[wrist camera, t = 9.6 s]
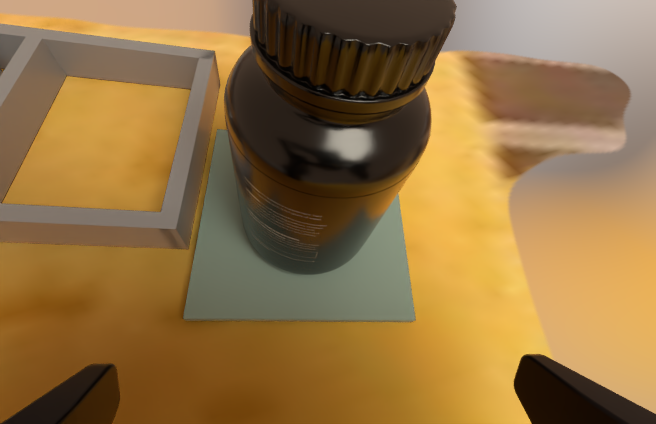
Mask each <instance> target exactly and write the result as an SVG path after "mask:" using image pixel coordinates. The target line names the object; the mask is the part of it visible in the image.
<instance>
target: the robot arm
mask: <svg viewBox="0 0 656 424" xmlns="http://www.w3.org/2000/svg"><path fill="white" fill-rule="evenodd" d="M514 389H515V392H516V394H517V396H518V398H519V400H520V402H521V404H522V406H523V408H524V410H525V411H526V413H527V415H528V417H529V419H530V421H531V423H532V424H656V414H654V413H652V412H651V411H649V410H647V409H645V408H643V407H641V406H639V405H637V404H635V403H633V402H632V401H630V400H627V399H626V398H624V397H622V396H620V395H618V394H616V393H614V392H613V391H611V390H609V389H607V388H605V387H603V386H601V385H599V384H597V383H595V382H594V381H592V380H590V379H588V378H586V377H584V376H582V375H580V374H578V373H577V372H575V371H573V370H571V369H569V368H567V367H565V366H563V365H561V364H559V363H558V362H556V361H554V360H552V359H550V358H548V357H546V356H544V355H541V354H526V355H524V356H523V357H522V358H521V360H520V363H519V366H518V369H517V372H516V375H515V378H514ZM119 401H120V391H119V383H118V375H117V369H116V366H115V365H114V364H112V363H101V364H91V365H89V366H87V367H85V368H84V369H82V370H81V371H79V372H78V373H76V374H75V375H73V376H72V377H70V378H69V379H67V380H66V381H64V382H63V383H61V384H60V385H58V386H57V387H55V388H54V389H52V390H51V391H49V392H48V393H46V394H45V395H43V396H42V397H40V398H39V399H37V400H36V401H34V402H33V403H31V404H30V405H28V406H26V407H25V408H23V409H22V410H20V411H19V412H17V413H16V414H14V415H13V416H11V417H10V418H8V419H7V420H5V421H4V422H2V423H1V424H112V422H113V420H114V417H115V414H116V412H117V409H118V406H119Z"/></svg>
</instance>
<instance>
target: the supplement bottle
mask: <svg viewBox="0 0 656 424" xmlns="http://www.w3.org/2000/svg"><path fill="white" fill-rule="evenodd" d="M456 7H457V6H456V4H455V2H454V1H453V0H253V14H252V17H251V21H250V39H251V46H249V47H248V48H247V49H246V50H245V51H244V53H243V54H242V55H241V56H240V58H239V59H238V60H237V62H236V63H235V65H234V67H233V69H232V71H231V73H230V75H229V78H228V80H227V84H226V88H225V95H224V108H225V119H226V126H227V132H228V138H229V144H230V151H231V157H232V163H233V169H234V175H235V181H236V188H237V194H238V200H239V206H240V212H241V218H242V223H243V227H244V230H245V233H246V236H247V238H248V240H249V242H250V244H251V245H252V247H253V248H254V249H255V251H256V252H257V253H258V254H259V255H260V256H261V257H262V258H263V259H265V260H266V261H267V262H269V263H270V264H272V265H273V266H275V267H277V268H279V269H281V270H284V271H287V272H290V273H294V274H301V275H315V274H322V273H327V272H330V271H333V270H335V269H337V268H339V267H341V266H343V265H344V264H346V263H347V262H349V261H350V260H351V259H352V258H353V257H354V256H355V255H356V254H357V253H358V252H359V250H360V249H361V248H362V246H363V245H364V244H365V242H366V241H367V239H368V238H369V236H370V235H371V233H372V232H373V230H374V229H375V227H376V226H377V224H378V223H379V221H380V220H381V218H382V217H383V215H384V214H385V212H386V211H387V209H388V208H389V206H390V205H391V203H392V202H393V200H394V198H395V197H396V195H397V194H398V192H399V191H400V189H401V188H402V186H403V185H404V183H405V182H406V180H407V179H408V177H409V176H410V174H411V173H412V171H413V170H414V168H415V167H416V165H417V164H418V162H419V160H420V158H421V156H422V154H423V153H424V151H425V149H426V146H427V144H428V141H429V137H430V132H431V108H430V102H429V98H428V95H427V92H426V89H425V85H426V84H427V82H428V80H429V78H430V76H431V74H432V72H433V69H434V65H435V60H436V58H437V56H438V54H439V52H440V50H441V48H442V46H443V44H444V42H445V40H446V38H447V36H448V34H449V32H450V31H451V28H452V26H453V24H454V21H455V11H456Z"/></svg>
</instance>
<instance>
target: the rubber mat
mask: <svg viewBox="0 0 656 424" xmlns="http://www.w3.org/2000/svg"><path fill="white" fill-rule="evenodd" d="M183 319H184V320H186V321H315V322H413V321H415V320H416V319H415V312H414V305H413V298H412V290H411V283H410V276H409V268H408V261H407V254H406V247H405V239H404V232H403V225H402V217H401V210H400V203H399V196H398V194H397V195H396V197H395V198H394V200H393V202H392V203H391V205H390V206H389V208H388V209H387V211H386V212H385V214H384V215H383V217H382V218H381V220H380V221H379V223H378V224H377V226H376V227H375V229H374V230H373V232H372V233H371V235H370V236H369V238H368V239H367V241H366V242H365V244H364V245H363V246H362V248H361V249H360V250H359V252H358V253H357V254H356V255H355V256H354V257H353V258H352V259H351V260H350V261H349V262H347V263H346V264H344V265H343V266H341V267H339V268H337V269H335V270H333V271H330V272H327V273H322V274H315V275H301V274H294V273H290V272H287V271H284V270H281V269H279V268H277V267H275V266H273V265H272V264H270V263H269V262H267V261H266V260H265V259H263V258H262V257H261V256H260V255H259V254H258V253H257V252H256V251H255V249H254V248H253V247H252V245H251V244H250V242H249V240H248V238H247V236H246V233H245V230H244V227H243V223H242V218H241V212H240V206H239V200H238V194H237V188H236V181H235V175H234V169H233V163H232V157H231V151H230V144H229V138H228V132H227V130H220V129H217V134H216V139H215V145H214V150H213V156H212V161H211V167H210V172H209V178H208V183H207V189H206V194H205V200H204V205H203V211H202V216H201V222H200V227H199V233H198V238H197V244H196V249H195V255H194V260H193V266H192V271H191V277H190V282H189V288H188V293H187V299H186V304H185V310H184V315H183Z"/></svg>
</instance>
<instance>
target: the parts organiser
mask: <svg viewBox="0 0 656 424" xmlns="http://www.w3.org/2000/svg"><path fill="white" fill-rule="evenodd" d="M0 68H2V69H5V70H4V71H3V73H2V74H1V76H0V242H14V243H40V244H66V245H92V246H118V247H144V248H171V249H188V248H189V243H190V238H191V233H192V227H193V222H194V217H195V212H196V207H197V201H198V196H199V191H200V186H201V181H202V176H203V170H204V165H205V160H206V155H207V150H208V144H209V139H210V134H211V129H212V124H213V118H214V113H215V108H216V103H217V98H218V93H219V87H220V80H219V74H218V68H217V61H216V55H215V51H211V50H203V49H195V48H187V47H179V46H172V45H164V44H156V43H148V42H140V41H132V40H124V39H117V38H109V37H101V36H93V35H85V34H77V33H69V32H62V31H54V30H46V29H38V28H30V27H22V26H14V25H7V24H0ZM66 76H75V77H84V78H93V79H103V80H112V81H121V82H130V83H139V84H148V85H158V86H167V87H176V88H185V89H191V92H190V96H189V100H188V104H187V108H186V112H185V116H184V120H183V124H182V128H181V132H180V136H179V140H178V144H177V148H176V152H175V156H174V160H173V164H172V168H171V172H170V177H169V181H168V185H167V189H166V193H165V197H164V201H163V205H162V209H161V212H150V211H132V210H113V209H95V208H76V207H57V206H39V205H20V204H2V201H3V199H4V197H5V195H6V193H7V191H8V189H9V187H10V185H11V183H12V181H13V179H14V177H15V175H16V173H17V171H18V169H19V167H20V166H21V164H22V162H23V160H24V158H25V156H26V154H27V152H28V150H29V148H30V146H31V144H32V142H33V140H34V138H35V136H36V134H37V132H38V130H39V128H40V127H41V125H42V123H43V121H44V119H45V117H46V115H47V113H48V111H49V109H50V107H51V105H52V103H53V101H54V99H55V97H56V95H57V93H58V91H59V89H60V87H61V86H62V84H63V82H64V80H65V78H66Z"/></svg>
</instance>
